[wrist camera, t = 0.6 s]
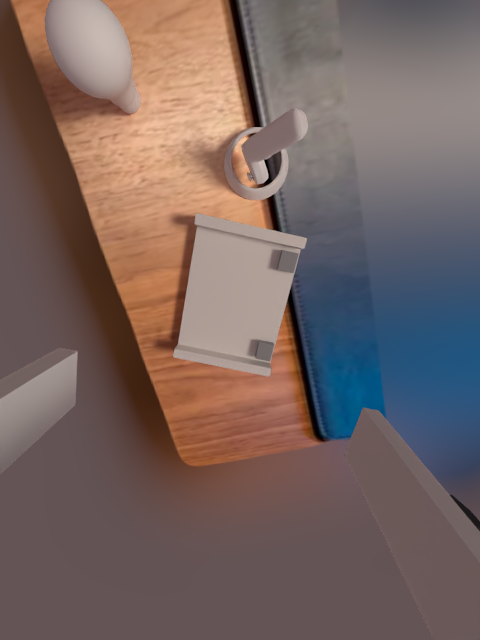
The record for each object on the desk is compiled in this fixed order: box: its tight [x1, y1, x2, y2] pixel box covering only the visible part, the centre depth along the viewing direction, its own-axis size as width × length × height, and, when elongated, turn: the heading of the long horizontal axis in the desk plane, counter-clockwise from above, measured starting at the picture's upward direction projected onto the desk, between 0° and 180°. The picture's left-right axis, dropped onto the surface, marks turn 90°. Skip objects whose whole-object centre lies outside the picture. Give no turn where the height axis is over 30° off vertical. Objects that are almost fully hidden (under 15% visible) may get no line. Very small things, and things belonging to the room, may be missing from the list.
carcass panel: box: [173, 213, 307, 377], centre depth 32 cm, size 18×13×3 cm
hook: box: [224, 109, 308, 200], centre depth 27 cm, size 8×12×7 cm
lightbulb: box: [45, 0, 141, 114], centre depth 23 cm, size 6×6×11 cm
